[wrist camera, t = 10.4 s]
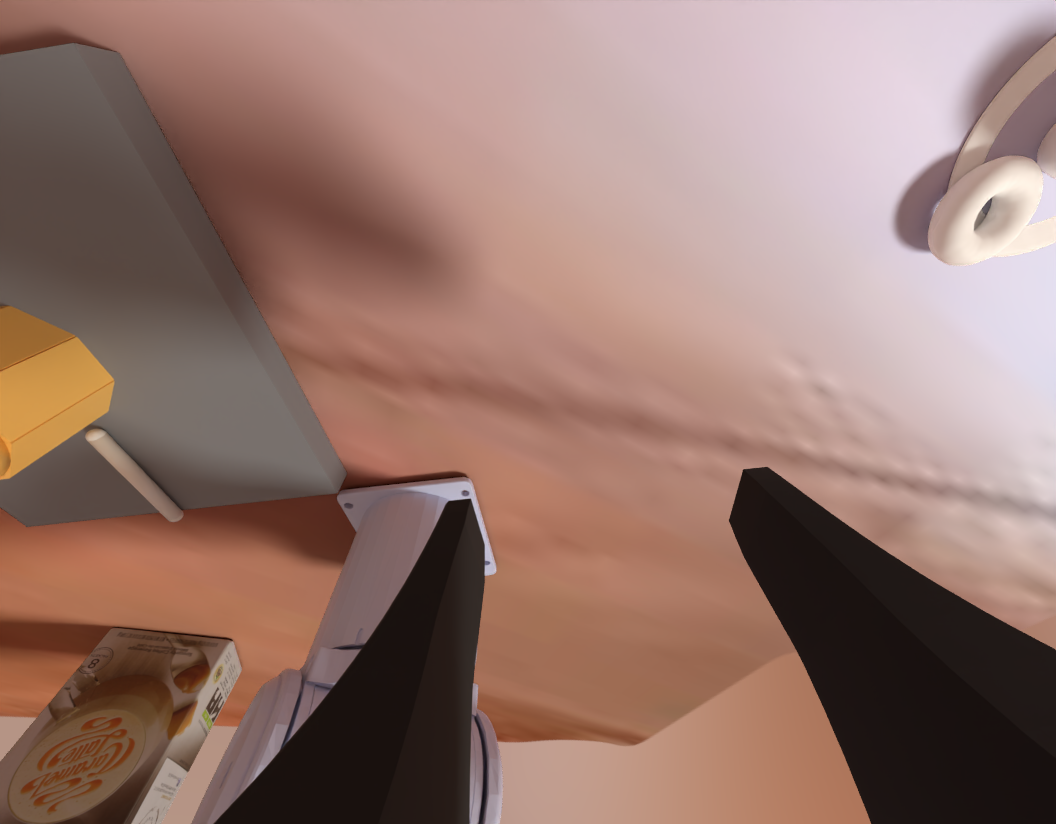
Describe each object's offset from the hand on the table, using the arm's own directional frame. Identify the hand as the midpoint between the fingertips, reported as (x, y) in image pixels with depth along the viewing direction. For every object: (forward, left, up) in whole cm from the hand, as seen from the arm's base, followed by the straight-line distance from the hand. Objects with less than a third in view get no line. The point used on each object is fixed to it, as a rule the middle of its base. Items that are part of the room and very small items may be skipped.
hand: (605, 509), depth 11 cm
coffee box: (-24, +35, -10) cm, 44 cm away
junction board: (+3, +22, -9) cm, 24 cm away
